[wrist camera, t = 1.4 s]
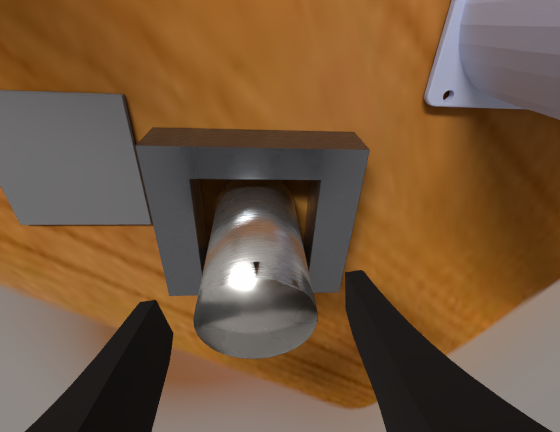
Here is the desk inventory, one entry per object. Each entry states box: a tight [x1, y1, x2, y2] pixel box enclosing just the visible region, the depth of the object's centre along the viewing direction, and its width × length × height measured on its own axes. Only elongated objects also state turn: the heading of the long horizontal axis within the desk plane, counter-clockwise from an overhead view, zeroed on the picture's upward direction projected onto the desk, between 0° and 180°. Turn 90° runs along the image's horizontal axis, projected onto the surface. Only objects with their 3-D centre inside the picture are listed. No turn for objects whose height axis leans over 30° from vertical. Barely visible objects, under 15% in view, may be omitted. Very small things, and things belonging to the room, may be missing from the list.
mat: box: [0, 90, 153, 225], centre depth 15 cm, size 7×7×1 cm
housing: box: [136, 128, 370, 296], centre depth 16 cm, size 10×9×2 cm
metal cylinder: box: [194, 179, 318, 359], centre depth 14 cm, size 4×4×8 cm
